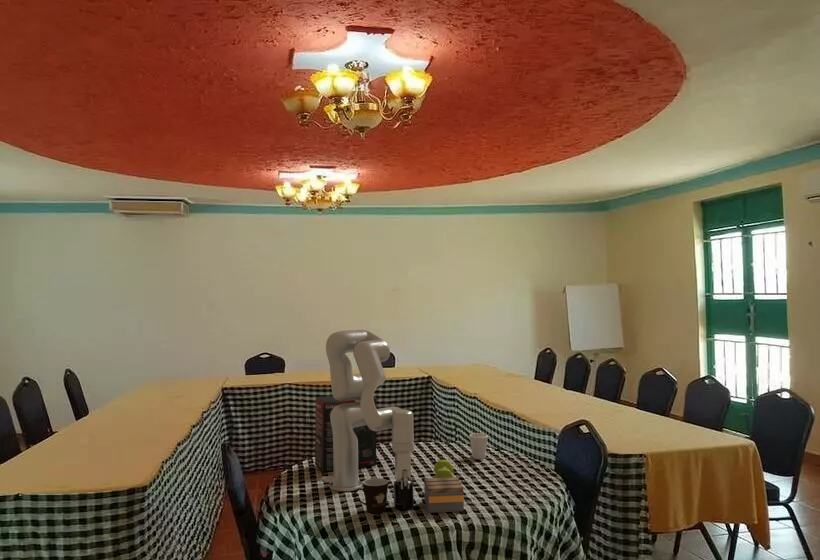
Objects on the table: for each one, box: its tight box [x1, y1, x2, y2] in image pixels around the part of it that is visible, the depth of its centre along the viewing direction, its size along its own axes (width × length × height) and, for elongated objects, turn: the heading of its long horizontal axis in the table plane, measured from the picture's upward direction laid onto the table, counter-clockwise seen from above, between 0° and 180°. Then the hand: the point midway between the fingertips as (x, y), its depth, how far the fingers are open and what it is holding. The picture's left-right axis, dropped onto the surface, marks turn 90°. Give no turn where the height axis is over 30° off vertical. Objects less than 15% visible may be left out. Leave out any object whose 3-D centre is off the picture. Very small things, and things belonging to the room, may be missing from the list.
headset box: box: [314, 395, 378, 473], centre depth 274 cm, size 24×13×33 cm, turn 115°
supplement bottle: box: [393, 479, 415, 512], centre depth 221 cm, size 7×7×12 cm
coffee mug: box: [353, 477, 389, 515], centre depth 218 cm, size 12×9×10 cm
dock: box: [423, 483, 465, 514], centre depth 222 cm, size 12×13×6 cm
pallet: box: [423, 476, 464, 493], centre depth 222 cm, size 12×12×2 cm
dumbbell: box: [433, 459, 454, 478], centre depth 249 cm, size 16×8×7 cm, turn 177°
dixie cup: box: [469, 432, 489, 460], centre depth 284 cm, size 8×8×10 cm
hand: (403, 495), depth 221 cm, fingers open, 9 cm apart
